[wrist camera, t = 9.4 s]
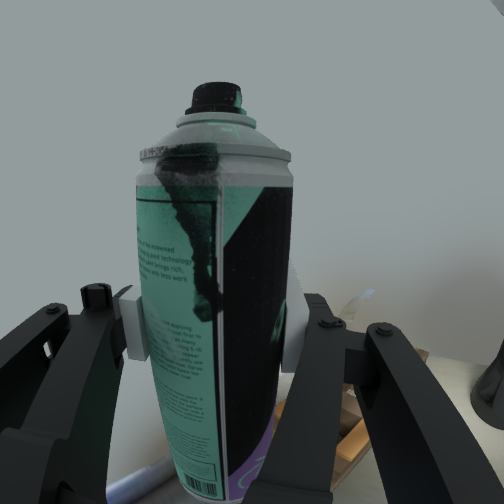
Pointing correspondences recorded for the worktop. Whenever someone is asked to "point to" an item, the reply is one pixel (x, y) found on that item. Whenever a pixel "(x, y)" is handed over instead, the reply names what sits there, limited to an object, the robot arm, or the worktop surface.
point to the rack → (347, 433)
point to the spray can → (215, 288)
